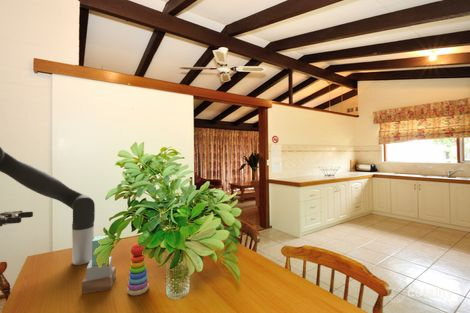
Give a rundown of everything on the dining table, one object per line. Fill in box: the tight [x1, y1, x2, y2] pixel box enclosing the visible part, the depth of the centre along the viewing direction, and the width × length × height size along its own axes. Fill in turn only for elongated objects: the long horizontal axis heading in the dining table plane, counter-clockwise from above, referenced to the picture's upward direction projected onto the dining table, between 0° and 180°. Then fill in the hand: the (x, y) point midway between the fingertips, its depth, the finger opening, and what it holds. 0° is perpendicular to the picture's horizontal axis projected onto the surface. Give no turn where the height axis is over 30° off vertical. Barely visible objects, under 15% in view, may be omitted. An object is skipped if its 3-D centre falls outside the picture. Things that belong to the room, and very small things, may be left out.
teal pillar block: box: [92, 235, 107, 266], centre depth 94 cm, size 5×5×10 cm
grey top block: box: [86, 256, 113, 281], centre depth 95 cm, size 8×8×5 cm
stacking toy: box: [126, 242, 150, 296], centre depth 91 cm, size 8×8×19 cm
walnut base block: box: [81, 266, 117, 294], centre depth 95 cm, size 10×10×5 cm
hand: (27, 216), depth 91 cm, fingers open, 8 cm apart
